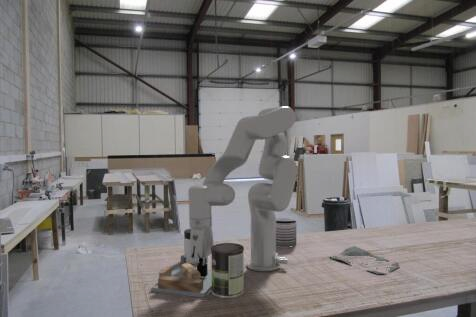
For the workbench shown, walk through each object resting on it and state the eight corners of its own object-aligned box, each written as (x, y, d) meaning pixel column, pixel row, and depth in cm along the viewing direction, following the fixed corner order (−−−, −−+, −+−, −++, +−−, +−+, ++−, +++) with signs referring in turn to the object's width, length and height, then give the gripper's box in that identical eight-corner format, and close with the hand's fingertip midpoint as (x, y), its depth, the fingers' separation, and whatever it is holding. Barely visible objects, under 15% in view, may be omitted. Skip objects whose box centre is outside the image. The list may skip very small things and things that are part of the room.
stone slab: (407, 271, 136) (407, 265, 135) (380, 281, 127) (380, 275, 127) (354, 251, 156) (354, 245, 156) (328, 258, 147) (328, 253, 147)
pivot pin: (187, 269, 131) (187, 255, 131) (185, 271, 129) (184, 257, 129) (182, 269, 131) (182, 255, 131) (179, 271, 130) (179, 256, 129)
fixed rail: (203, 289, 113) (203, 279, 113) (199, 292, 110) (199, 283, 110) (162, 284, 117) (162, 275, 117) (158, 288, 114) (158, 278, 114)
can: (268, 246, 165) (268, 220, 164) (275, 240, 175) (275, 215, 175) (293, 249, 160) (293, 221, 160) (299, 242, 171) (299, 217, 170)
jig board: (224, 274, 129) (224, 262, 129) (204, 297, 110) (204, 283, 110) (178, 270, 134) (178, 258, 134) (151, 291, 115) (150, 278, 115)
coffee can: (211, 299, 109) (211, 252, 108) (211, 285, 119) (210, 243, 118) (245, 297, 110) (245, 251, 109) (242, 284, 120) (242, 242, 119)
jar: (189, 265, 139) (188, 234, 139) (180, 259, 146) (179, 230, 146) (209, 261, 144) (209, 231, 144) (200, 255, 151) (199, 227, 151)
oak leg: (181, 272, 128) (181, 263, 128) (188, 270, 130) (188, 262, 129) (192, 283, 118) (192, 274, 117) (200, 282, 119) (200, 273, 119)
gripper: (202, 228, 114) (204, 285, 115) (218, 217, 128) (220, 269, 129) (180, 227, 116) (182, 283, 117) (198, 217, 130) (200, 267, 131)
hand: (202, 275), depth 123 cm, fingers closed
